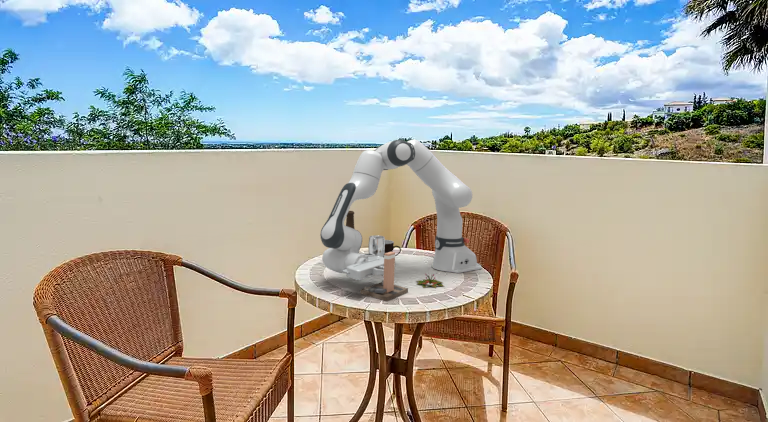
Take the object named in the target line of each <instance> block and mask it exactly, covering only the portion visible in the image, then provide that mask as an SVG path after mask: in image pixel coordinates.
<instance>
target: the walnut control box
mask: <svg viewBox="0 0 768 422" xmlns="http://www.w3.org/2000/svg"><path fill="white" fill-rule="evenodd" d="M378 288H379V289H383V285H382V281H380V282H378V283H375V284H373V285H365V286H364V288H361V289H360V294H361V295H363V296H367V297H370V296H371V298H374V297H375V298H374V299H377V298H378V300H380V301H381V300H382V301H385V302H388V301H391V300H393V299H395V298H398V297H401V296H402V295H404V294H408V293H409V288H407V287H404V286H399V285H396V284H394V290H393V291H391V292H388V293H386V292H384V293H375V292H374V290H376V289H378Z"/></svg>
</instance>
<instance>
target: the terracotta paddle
mask: <svg viewBox="0 0 768 422" xmlns="http://www.w3.org/2000/svg"><path fill="white" fill-rule="evenodd" d="M395 255H396V252H395V251H393V252H388V253H385V254H384V275H383V280H384V281H383V280H382V281H383V289H386V290H387V291H386V293H388V292H391V291H393V290H394V285H395V268H396V267H395V266H396V265H395V263H396V256H395Z"/></svg>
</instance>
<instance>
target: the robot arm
mask: <svg viewBox="0 0 768 422" xmlns="http://www.w3.org/2000/svg"><path fill="white" fill-rule="evenodd" d="M406 165H407V166H408V167H409V168H410V169H411V170H412V172H414V174H415V175H416V176H417V177H418V179H420V180H421V182H423V183H424V184H425V185H426V186H428V188H430V189H431V193H432V196H433V199H434V203H435V210H436V218H437V219H436V220H437V221H436V222H437V223H436V235H435V239H434V240H435V241H434V242H435V244H434V248H435V249H434V250H435V251H434V256H433V260H432V264H431V268H432V269H434V270H438V271H442V272H450V273H451V272H452V273H454V274H455V273H456V274H461V273H466V272H467V273H468V272H471V271H477V270H482V265H481V264H480V263H478V261H477V255H476V254H475V252H473V251H472V250H471V249H470V248H469V247H468V246H467V245H465V244H469V243H470V239H469V238H467V237H465V238H464V237H463V223H464V222H463V221H464V220H463V218H462V217H463V216H462V215H461V212H460V208H465V207H467V206H469V204H470V203H471V202H472V199H473V191H472V189H471V187H469V186H468V185H467V184H465V183H464V182H463V181H462V180H461V179H460V178H459V177H457V176H456V175H455V174H454V173H453V172H451V171H450V170H449V169H448V168H446V166H445V165H444V164H443V163H442V162H441V161H440V160H439V159H438V158H437V157H436V156H435V154H433V152H432V151H431V150H430V149H429V148H428V147H427V146H426V145H425V144H423V143H421V141H419V140H417V139H414V138H413V139H410V140H408V141H406V140H403V139H394V140H391V141H388V142H386V143H384V144H381V145H379V146H378V147H376V148H375V149H374V150H373V149H366V150H363V151H362V152H361V153H360V155H359V157H358V159H357V161H356V164H355V166H354V169H353V172H352V175H351V177H350V180H349V181H348V183H346V184H344V185H343V187H341V188H342V189H340V192H339V193H338V196H337V198H336V200H335V202H334V205H333V207H332V210H331V211H330V214H329V216H328V218H327V220H326V222H325V223H324V224H323V226H322V228H321V230H320V235H319V236H320V240H321V244H322V245H323V246H324V247H326V248H327V249H325V250H324V251H323V252H322V257H321V258H322V259H321V260H322V262H323V265H324V266H325V268H327V269H328V270H330V271H332V272H335V273H339V274H346V275H345V276H346V277H348V278H349V279H353V280H357V281H361V280H364V279H368V278H370V277H372V276H384V257H380V256H375V254H369V253H360V250H361V247H362V244H363V235H362V233H361V232H360V231H359V230H357V229H353V228H351V227H347V226H346V224H345V222H346V218H347V214H348V211H350V209H351V206H352V205H353V203H354V202H356V201H357V200H364V199H366V200H367V199H370V198H371V197H372V196H374V195H375V193H376V192H377V190H378V188H379V184H380V180H381V176H382V173H383V171H390V170H395V169H398V168H400V167H405V166H406Z"/></svg>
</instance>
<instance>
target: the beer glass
mask: <svg viewBox="0 0 768 422" xmlns="http://www.w3.org/2000/svg"><path fill="white" fill-rule="evenodd" d="M385 240H386V239H385V236H383V235H377V234H375V235H369V237H368V248H367V249H368V254H375V256H380V257H383V256H384V251H385Z"/></svg>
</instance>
